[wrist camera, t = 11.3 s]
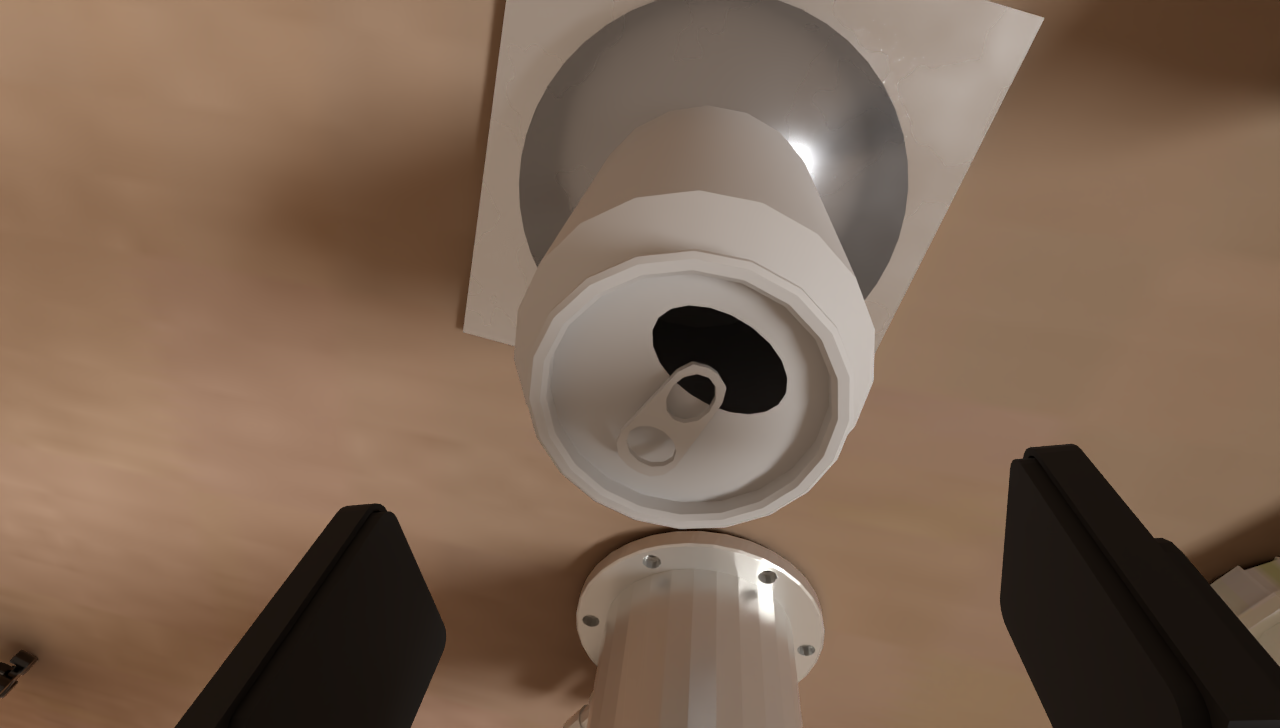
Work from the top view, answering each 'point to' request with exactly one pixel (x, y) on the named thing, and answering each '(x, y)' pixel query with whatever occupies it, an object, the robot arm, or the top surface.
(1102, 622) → the robot arm
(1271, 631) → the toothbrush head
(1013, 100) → the top surface
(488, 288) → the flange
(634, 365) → the can
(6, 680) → the valve
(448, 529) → the top surface
